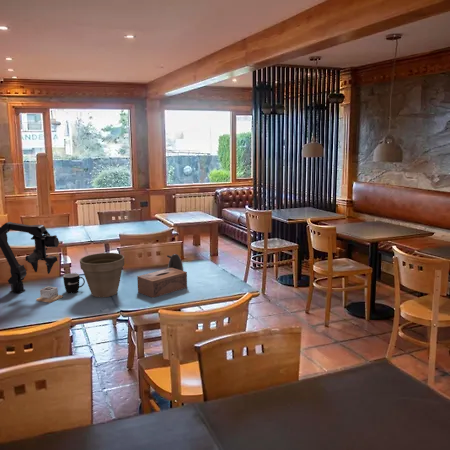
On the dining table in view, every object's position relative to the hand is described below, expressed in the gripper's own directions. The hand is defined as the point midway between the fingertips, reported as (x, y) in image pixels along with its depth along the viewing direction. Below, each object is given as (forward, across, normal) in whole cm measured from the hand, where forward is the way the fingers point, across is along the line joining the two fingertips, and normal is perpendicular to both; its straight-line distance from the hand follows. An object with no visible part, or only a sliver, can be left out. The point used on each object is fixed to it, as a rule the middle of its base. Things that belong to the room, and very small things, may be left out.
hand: (42, 272), depth 284 cm
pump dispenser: (+12, +59, +55) cm, 82 cm away
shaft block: (+12, +11, -8) cm, 18 cm away
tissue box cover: (+13, +64, +28) cm, 71 cm away
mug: (+12, +16, +8) cm, 22 cm away
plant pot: (+12, +35, +10) cm, 38 cm away
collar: (+11, +11, -8) cm, 17 cm away
